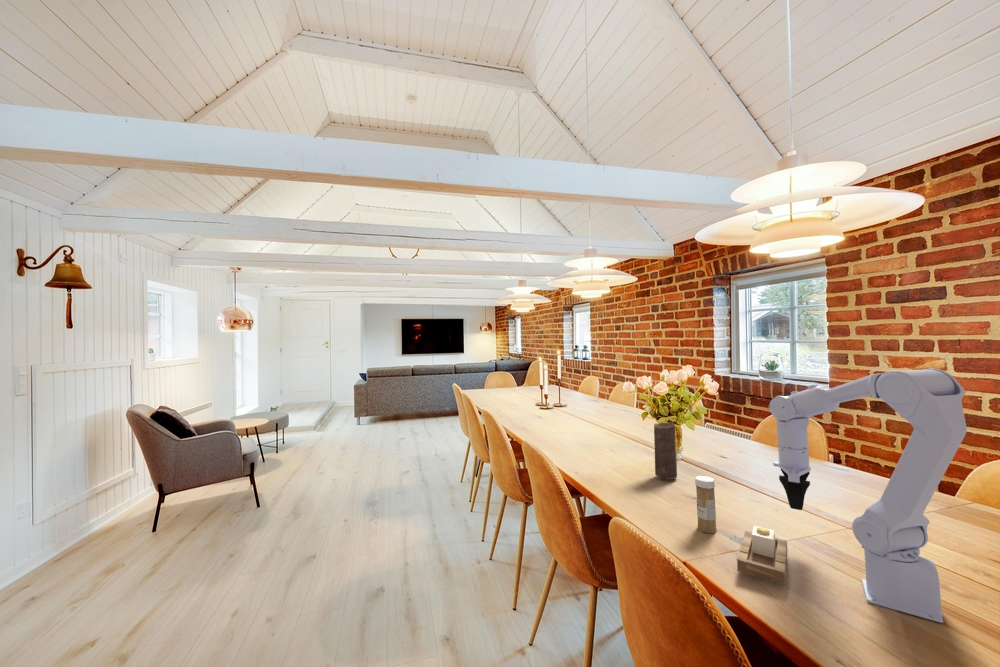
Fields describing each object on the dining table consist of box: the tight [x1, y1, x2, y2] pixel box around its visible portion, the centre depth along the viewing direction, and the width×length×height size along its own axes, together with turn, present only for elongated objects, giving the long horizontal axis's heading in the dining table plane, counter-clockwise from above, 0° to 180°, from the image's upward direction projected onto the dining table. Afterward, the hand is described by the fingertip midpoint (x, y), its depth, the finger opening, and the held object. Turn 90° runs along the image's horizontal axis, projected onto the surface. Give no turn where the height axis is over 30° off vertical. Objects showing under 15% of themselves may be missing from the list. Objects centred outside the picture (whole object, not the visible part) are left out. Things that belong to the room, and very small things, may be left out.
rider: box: [751, 525, 776, 558], centre depth 85 cm, size 5×4×4 cm
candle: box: [653, 421, 678, 480], centre depth 137 cm, size 8×7×20 cm
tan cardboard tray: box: [736, 530, 788, 585], centre depth 83 cm, size 15×8×4 cm, turn 141°
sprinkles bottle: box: [694, 475, 718, 534], centre depth 99 cm, size 5×5×14 cm
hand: (796, 503), depth 89 cm, fingers open, 6 cm apart
